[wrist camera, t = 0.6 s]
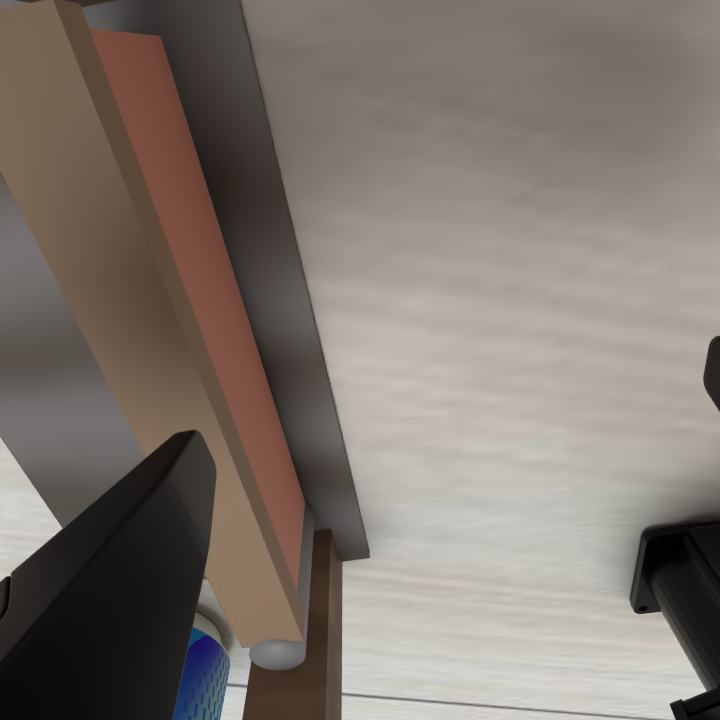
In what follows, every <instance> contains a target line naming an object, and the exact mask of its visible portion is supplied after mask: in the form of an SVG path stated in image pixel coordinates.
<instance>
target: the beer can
mask: <svg viewBox="0 0 720 720" xmlns="http://www.w3.org/2000/svg"><path fill="white" fill-rule="evenodd" d="M229 669H230V660H229V656H228V653H227V651H226V649H225V648H224V646H223V645H222V642H221V637H220V634H219V632H218V630H217V628H216V627H215V626H214V625H213V623H212V622H211V621H209V620H208V619H207V618H206V617H204V616H203V615H201V614H199V613H197V612H196V614H195V619H194V624H193V628H192V633H191V638H190V642H189V647H188V652H187V656H186V661H185V666H184V670H183V675H182V680H181V684H180V689H179V694H178V698H177V703H176V707H175V712H174V717H173V720H220V717H221V712H222V706H223V701H224V696H225V691H226V685H227V680H228V675H229Z"/></svg>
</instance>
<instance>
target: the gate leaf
mask: <svg viewBox="0 0 720 720" xmlns="http://www.w3.org/2000/svg"><path fill="white" fill-rule="evenodd" d="M0 171H1V173H2V175H3V177H4V179H5V181H6V183H7V185H8V187H9V188H10V190H11V192H12V194H13V196H14V198H15V200H16V202H17V204H18V206H19V208H20V210H21V212H22V214H23V216H24V218H25V220H26V222H27V224H28V226H29V228H30V230H31V232H32V234H33V236H34V238H35V240H36V242H37V244H38V246H39V248H40V250H41V252H42V254H43V256H44V258H45V260H46V262H47V264H48V266H49V267H50V269H51V271H52V273H53V275H54V277H55V279H56V281H57V283H58V285H59V287H60V289H61V291H62V293H63V295H64V297H65V299H66V301H67V303H68V305H69V307H70V309H71V311H72V313H73V315H74V317H75V319H76V321H77V323H78V325H79V327H80V329H81V331H82V333H83V335H84V337H85V339H86V341H87V343H88V344H89V346H90V348H91V350H92V352H93V354H94V356H95V358H96V360H97V362H98V364H99V366H100V368H101V370H102V372H103V374H104V376H105V378H106V380H107V382H108V384H109V386H110V388H111V390H112V392H113V394H114V396H115V398H116V400H117V402H118V404H119V406H120V408H121V410H122V412H123V414H124V416H125V418H126V420H127V422H128V423H129V425H130V427H131V429H132V431H133V433H134V435H135V437H136V439H137V441H138V443H139V445H140V447H141V449H142V451H143V453H144V455H145V457H147V456H149V455H150V454H151V453H152V452H153V451H155V450H156V449H157V448H158V447H159V446H160V445H162V444H163V443H164V442H165V441H166V440H167V439H169V438H170V437H171V436H172V435H173V434H175V433H177V432H182V431H188V430H194V429H196V430H198V431H200V433H201V434H202V436H203V437H204V440H205V442H206V444H207V446H208V448H209V450H210V453H211V455H212V457H213V459H214V461H215V464H216V469H217V477H216V487H215V498H214V508H213V518H212V529H211V539H210V546H209V553H208V558H207V563H206V568H205V573H204V574H205V576H206V578H207V579H208V581H209V583H210V585H211V587H212V589H213V591H214V593H215V595H216V597H217V599H218V601H219V603H220V605H221V607H222V609H223V611H224V613H225V615H226V617H227V619H228V621H229V623H230V625H231V627H232V629H233V631H234V633H235V635H236V637H237V639H238V641H239V643H240V645H241V647H242V648H246V647H250V652H249V656H250V659H251V660H252V661H253V662H254V663H255V664H256V665H258V666H260V667H262V668H265V669H269V670H288V669H292V668H294V667H297V666H298V665H300V664H301V663H302V662H303V661H304V659H305V656H306V641H307V626H308V611H309V596H310V581H311V566H312V551H313V535H314V520H315V514H314V511H313V510H312V509H311V507H309V506H308V505H306V504H305V500H304V497H303V494H302V491H301V487H300V484H299V481H298V478H297V474H296V471H295V468H294V465H293V462H292V458H291V455H290V452H289V449H288V445H287V442H286V439H285V436H284V433H283V429H282V426H281V423H280V420H279V417H278V413H277V410H276V407H275V404H274V400H273V397H272V394H271V391H270V388H269V384H268V381H267V378H266V375H265V371H264V368H263V365H262V362H261V359H260V355H259V352H258V349H257V346H256V342H255V339H254V336H253V333H252V330H251V326H250V323H249V320H248V317H247V313H246V310H245V307H244V304H243V301H242V297H241V294H240V291H239V288H238V284H237V281H236V278H235V275H234V272H233V268H232V265H231V262H230V259H229V255H228V252H227V249H226V246H225V243H224V239H223V236H222V233H221V230H220V226H219V223H218V220H217V217H216V214H215V210H214V207H213V204H212V201H211V197H210V194H209V191H208V188H207V185H206V181H205V178H204V175H203V172H202V168H201V165H200V162H199V159H198V156H197V152H196V149H195V146H194V143H193V139H192V136H191V133H190V130H189V127H188V123H187V120H186V117H185V114H184V110H183V107H182V104H181V101H180V98H179V94H178V91H177V88H176V85H175V81H174V78H173V75H172V72H171V69H170V65H169V62H168V59H167V56H166V53H165V49H164V46H163V43H162V40H161V36H157V35H147V34H137V33H128V32H118V31H109V30H99V29H89V27H88V24H87V21H86V19H85V16H84V13H83V11H82V8H81V5H80V4H79V3H73V2H68V1H63V0H43V1H38V2H33V3H28V4H23V5H18V6H14V7H9V8H4V9H0Z"/></svg>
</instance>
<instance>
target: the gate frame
mask: <svg viewBox="0 0 720 720" xmlns="http://www.w3.org/2000/svg"><path fill="white" fill-rule="evenodd" d="M38 1H43V0H0V9H4V8H9V7H14V6H18V5H23V4H28V3H33V2H38ZM63 1H68V2H73V3H79V4H80V5H81V8H82V11H83V13H84V16H85V19H86V21H87V24H88V27H89V29H99V30H109V31H118V32H128V33H137V34H147V35H157V36H161V40H162V43H163V46H164V49H165V53H166V56H167V59H168V62H169V65H170V69H171V72H172V75H173V78H174V81H175V85H176V88H177V91H178V94H179V98H180V101H181V104H182V107H183V110H184V114H185V117H186V120H187V123H188V127H189V130H190V133H191V136H192V139H193V143H194V146H195V149H196V152H197V156H198V159H199V162H200V165H201V168H202V172H203V175H204V178H205V181H206V185H207V188H208V191H209V194H210V197H211V201H212V204H213V207H214V210H215V214H216V217H217V220H218V223H219V226H220V230H221V233H222V236H223V239H224V243H225V246H226V249H227V252H228V255H229V259H230V262H231V265H232V268H233V272H234V275H235V278H236V281H237V284H238V288H239V291H240V294H241V297H242V301H243V304H244V307H245V310H246V313H247V317H248V320H249V323H250V326H251V330H252V333H253V336H254V339H255V342H256V346H257V349H258V352H259V355H260V359H261V362H262V365H263V368H264V371H265V375H266V378H267V381H268V384H269V388H270V391H271V394H272V397H273V400H274V404H275V407H276V410H277V413H278V417H279V420H280V423H281V426H282V429H283V433H284V436H285V439H286V442H287V445H288V449H289V452H290V455H291V458H292V462H293V465H294V468H295V471H296V474H297V478H298V481H299V484H300V487H301V491H302V494H303V497H304V500H305V504H306V505H308V506H309V507H311V509H312V510H313V511H314V514H315V520H314V535H313V551H312V566H311V581H310V596H309V611H308V626H307V641H306V656H305V659H304V661H303V662H302V663H301V664H300V665H298V666H297V667H294V668H292V669H288V670H269V669H265V668H262V667H260V666H258V665H256V664H255V663H254V662H253V661H251V667H250V674H249V680H248V687H247V693H246V700H245V706H244V712H243V719H242V720H341V708H342V561H350V560H358V559H365V558H370V555H369V549H368V545H367V541H366V536H365V532H364V528H363V524H362V519H361V515H360V511H359V507H358V502H357V498H356V494H355V490H354V485H353V481H352V477H351V473H350V468H349V464H348V460H347V456H346V451H345V447H344V443H343V439H342V434H341V430H340V426H339V422H338V417H337V413H336V409H335V405H334V400H333V396H332V392H331V388H330V383H329V379H328V375H327V371H326V366H325V362H324V358H323V354H322V349H321V345H320V341H319V337H318V332H317V328H316V324H315V320H314V315H313V311H312V307H311V303H310V298H309V294H308V290H307V286H306V282H305V277H304V273H303V269H302V265H301V260H300V256H299V252H298V248H297V243H296V239H295V235H294V231H293V226H292V222H291V218H290V214H289V209H288V205H287V201H286V197H285V192H284V188H283V184H282V180H281V175H280V171H279V167H278V163H277V158H276V154H275V150H274V146H273V141H272V137H271V133H270V129H269V124H268V120H267V116H266V112H265V107H264V103H263V99H262V95H261V90H260V86H259V82H258V78H257V73H256V69H255V65H254V61H253V56H252V52H251V48H250V44H249V39H248V35H247V31H246V27H245V22H244V18H243V14H242V10H241V5H240V1H239V0H63ZM0 437H1V439H2V440H3V442H4V443H5V444H6V446H7V447H8V449H9V450H10V452H11V453H12V455H13V456H14V458H15V459H16V461H17V462H18V464H19V465H20V466H21V468H22V469H23V471H24V472H25V474H26V475H27V477H28V478H29V480H30V481H31V483H32V484H33V485H34V487H35V488H36V490H37V491H38V493H39V494H40V496H41V497H42V499H43V500H44V502H45V503H46V505H47V506H48V507H49V509H50V510H51V512H52V513H53V515H54V516H55V518H56V519H57V521H58V522H59V524H60V525H61V526H62V528H64V527H65V526H66V525H68V524H69V523H70V522H71V521H72V520H74V519H75V518H76V517H77V516H78V515H79V514H81V513H82V512H83V511H84V510H85V509H86V508H88V507H89V506H90V505H91V504H92V503H93V502H95V501H96V500H97V499H98V498H99V497H101V496H102V495H103V494H104V493H105V492H106V491H108V490H109V489H110V488H111V487H112V486H113V485H115V484H116V483H117V482H118V481H119V480H120V479H122V478H123V477H124V476H125V475H126V474H128V473H129V472H130V471H131V470H132V469H133V468H135V467H136V466H137V465H138V464H139V463H140V462H142V461H143V460H144V459H145V458H146V457H145V455H144V453H143V451H142V449H141V447H140V445H139V443H138V441H137V439H136V437H135V435H134V433H133V431H132V429H131V427H130V425H129V423H128V422H127V420H126V418H125V416H124V414H123V412H122V410H121V408H120V406H119V404H118V402H117V400H116V398H115V396H114V394H113V392H112V390H111V388H110V386H109V384H108V382H107V380H106V378H105V376H104V374H103V372H102V370H101V368H100V366H99V364H98V362H97V360H96V358H95V356H94V354H93V352H92V350H91V348H90V346H89V344H88V343H87V341H86V339H85V337H84V335H83V333H82V331H81V329H80V327H79V325H78V323H77V321H76V319H75V317H74V315H73V313H72V311H71V309H70V307H69V305H68V303H67V301H66V299H65V297H64V295H63V293H62V291H61V289H60V287H59V285H58V283H57V281H56V279H55V277H54V275H53V273H52V271H51V269H50V267H49V266H48V264H47V262H46V260H45V258H44V256H43V254H42V252H41V250H40V248H39V246H38V244H37V242H36V240H35V238H34V236H33V234H32V232H31V230H30V228H29V226H28V224H27V222H26V220H25V218H24V216H23V214H22V212H21V210H20V208H19V206H18V204H17V202H16V200H15V198H14V196H13V194H12V192H11V190H10V188H9V187H8V185H7V183H6V181H5V179H4V177H3V175H2V173H1V171H0ZM203 579H207V578H206V576H205V574H204V577H203Z"/></svg>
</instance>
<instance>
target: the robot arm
mask: <svg viewBox="0 0 720 720" xmlns="http://www.w3.org/2000/svg"><path fill="white" fill-rule="evenodd" d="M703 380H704V386H705V389H706V391H707V393H708V394H709V396H710V397H711V399H712V401H713V402H714V404H715V405H716V407H717V408H718V410H719V411H720V336H716V337H714V338H713V339H712V340H711V342H710V344H709V348H708V354H707V359H706V365H705V370H704V377H703ZM216 477H217V469H216V464H215V461H214V459H213V457H212V455H211V453H210V450H209V448H208V446H207V444H206V442H205V440H204V437H203V436H202V434H201V433H200V431H198V430H196V429H194V430H188V431H182V432H177V433H175V434H173V435H172V436H171V437H170V438H169V439H167V440H166V441H165V442H164V443H163V444H162V445H160V446H159V447H158V448H157V449H156V450H155V451H153V452H152V453H151V454H150V455H149V456H147V457H146V458H145V459H144V460H143V461H142V462H140V463H139V464H138V465H137V466H136V467H135V468H133V469H132V470H131V471H130V472H129V473H128V474H126V475H125V476H124V477H123V478H122V479H120V480H119V481H118V482H117V483H116V484H115V485H113V486H112V487H111V488H110V489H109V490H108V491H106V492H105V493H104V494H103V495H102V496H101V497H99V498H98V499H97V500H96V501H95V502H93V503H92V504H91V505H90V506H89V507H88V508H86V509H85V510H84V511H83V512H82V513H81V514H79V515H78V516H77V517H76V518H75V519H74V520H72V521H71V522H70V523H69V524H68V525H66V526H65V527H64V528H63V529H62V530H61V531H59V532H58V533H57V534H56V535H55V536H54V537H52V538H51V539H50V540H49V541H48V542H47V543H45V544H44V545H43V546H42V547H41V548H39V549H38V550H37V551H36V552H35V553H34V554H32V555H31V556H30V557H29V558H28V559H27V560H25V561H24V562H23V563H22V564H21V565H20V566H18V567H17V568H16V569H15V570H14V571H13V572H12V573H11V577H10V576H7V577H5V578H4V579H3V580H2V581H1V582H0V720H173V717H174V712H175V707H176V703H177V698H178V694H179V689H180V684H181V680H182V675H183V670H184V666H185V661H186V656H187V652H188V647H189V642H190V638H191V633H192V628H193V624H194V619H195V614H196V610H197V605H198V600H199V596H200V591H201V587H202V582H203V577H204V573H205V568H206V563H207V558H208V553H209V546H210V539H211V529H212V518H213V508H214V498H215V487H216ZM631 606H632V608H633V610H634V612H635V613H637V614H645V613H653V612H662V613H663V615H664V617H665V618H666V620H667V622H668V624H669V625H670V627H671V629H672V631H673V633H674V634H675V636H676V638H677V640H678V641H679V643H680V645H681V647H682V648H683V650H684V652H685V654H686V655H687V657H688V659H689V661H690V662H691V664H692V666H693V668H694V669H695V671H696V673H697V675H698V677H699V678H700V680H701V682H702V684H703V685H704V687H705V689H706V691H707V692H705V693H702V694H700V695H697V696H695V697H692V698H690V699H687V700H684V701H683V700H681V699H680V700H677V701H675V702H672V703H670V706H671V709H672V711H673V714H674V716H675V719H676V720H720V521H717V522H709V523H701V524H693V525H686V526H678V527H670V528H662V529H654V530H650V531H648V532H646V533H645V534H644V535H643V537H642V542H641V548H640V553H639V559H638V564H637V570H636V575H635V581H634V586H633V592H632V597H631Z"/></svg>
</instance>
